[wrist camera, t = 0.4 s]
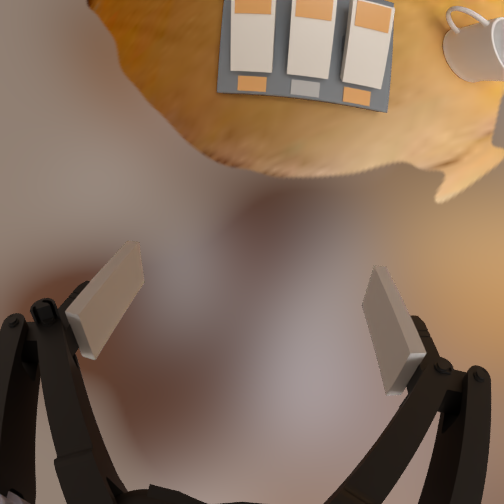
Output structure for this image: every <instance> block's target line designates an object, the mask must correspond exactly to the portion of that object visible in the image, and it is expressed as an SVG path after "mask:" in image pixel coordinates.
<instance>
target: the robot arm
mask: <svg viewBox="0 0 504 504" xmlns="http://www.w3.org/2000/svg"><path fill="white" fill-rule="evenodd" d="M144 282H145V281H144V276H143V268H142V260H141V252H140V244H139V242H134V241H127V242H126V243H125V244H124V245H123V246H122V247H121V248H120V250H119V251H118V252H117V253H116V254H115V255H114V256H113V257H112V258H111V259H110V260H109V261H108V262H107V263H106V265H105V266H104V267H103V268H102V269H101V270H100V271H99V272H98V273H97V275H96V276H95V277H94V278H93V279H92V280H91V281H85V282H84V283H82V284H80V285H79V286H78V287H77V288H76V289H75V290H74V291H73V293H71V295H70V296H69V298H67V299H66V300H65V301H64V303H63V304H62V305H61V306H60V307H59V308H58V309H57V306H56V304H55V301H54V300H52V299H50V298H44V299H41V300H38V301H36V302H35V303H34V304H33V305H32V306H31V309H30V312H31V314H32V317H33V319H34V321H35V322H26V320H25V318H24V316H23V315H22V314H19V313H18V314H17V313H16V314H12V315H10V316H8V317H7V318H6V319H5V320H4V322H3V324H2V327H1V330H0V504H35V499H36V477H35V434H36V416H37V404H38V394H39V385H40V377H41V382H42V388H43V395H44V400H45V406H46V411H47V416H48V421H49V425H50V430H51V434H52V438H53V442H54V446H55V450H56V453H57V458H56V459H55V460H54V465H55V470H56V473H57V476H58V479H59V482H60V485H61V488H62V491H63V494H64V497H65V500H66V502H67V504H207V503H204V502H201V501H199V500H197V499H194V498H192V497H190V496H188V495H186V494H183V493H181V492H179V491H175V490H171V489H166V488H163V487H158V486H155V485H151V484H150V486H149V489H140V490H133V491H129V492H128V491H127V489H126V488H125V486H124V484H123V483H122V481H121V480H120V478H119V476H118V474H117V472H116V470H115V468H114V466H113V463H112V461H111V459H110V456H109V454H108V451H107V449H106V447H105V444H104V442H103V439H102V436H101V434H100V431H99V428H98V425H97V423H96V420H95V417H94V414H93V412H92V408H91V405H90V402H89V399H88V395H87V392H86V389H85V385H84V382H83V378H82V375H81V371H80V367H79V363H78V359H77V356H76V354H75V353H76V351H77V350H78V348H79V349H80V352H81V354H82V356H83V357H86V358H90V359H93V360H96V358H97V357H98V355H99V353H100V352H101V350H102V348H103V347H104V345H105V343H106V342H107V340H108V339H109V337H110V335H111V334H112V332H113V330H114V329H115V327H116V326H117V324H118V322H119V321H120V319H121V318H122V316H123V314H124V313H125V311H126V310H127V308H128V307H129V305H130V303H131V302H132V301H133V299H134V298H135V296H136V295H137V293H138V292H139V290H140V288H141V287H142V286H143V284H144ZM362 308H363V311H364V314H365V318H366V321H367V324H368V328H369V331H370V335H371V338H372V342H373V346H374V349H375V353H376V357H377V361H378V364H379V368H380V372H381V376H382V381H383V385H384V389H385V393H386V395H401V394H402V392H403V391H404V389H405V388H406V387H407V390H408V395H407V397H406V398H405V399H404V401H403V402H402V404H401V405H400V406H399V409H398V411H397V412H396V414H395V415H394V417H393V418H392V420H391V421H390V423H389V424H388V426H387V427H386V428H385V430H384V431H383V433H382V434H381V435H380V437H379V438H378V440H377V441H376V442H375V444H374V445H373V446H372V448H371V449H370V450H369V451H368V453H367V454H366V455H365V457H364V458H363V459H362V460H361V462H360V463H359V464H358V465H357V467H356V468H355V469H354V470H353V471H352V473H351V474H350V475H349V476H348V477H347V479H346V480H345V481H344V482H343V483H342V484H341V485H340V486H339V488H338V489H337V490H336V491H335V492H334V493H333V494H332V495H331V496H330V497H329V498H328V500H327V501H326V502H325V503H324V504H382V502H383V501H384V500H385V498H386V497H387V495H388V494H389V493H390V491H391V490H392V488H393V487H394V485H395V484H396V483H397V481H398V479H399V478H400V476H401V475H402V473H403V472H404V470H405V469H406V467H407V466H408V464H409V462H410V460H411V459H412V457H413V456H414V454H415V452H416V450H417V449H418V447H419V445H420V443H421V442H422V440H423V438H424V436H425V434H426V432H427V431H428V428H429V427H430V425H431V422H432V421H433V419H434V417H435V415H436V413H437V411H438V412H441V414H440V419H439V425H438V430H437V435H436V440H435V444H434V449H433V453H432V457H431V461H430V465H429V469H428V472H427V476H426V479H425V483H424V486H423V489H422V493H421V496H420V499H419V502H418V504H481V500H482V495H483V489H484V484H485V478H486V471H487V463H488V454H489V443H490V427H491V379H490V375H489V373H488V372H487V371H486V370H485V369H484V368H482V367H480V366H476V365H475V366H472V367H471V368H470V369H469V370H468V371H467V373H466V372H462V371H458V370H454V369H453V366H452V364H451V363H450V362H449V361H448V360H446V359H444V358H442V357H440V356H439V354H438V351H437V349H436V347H435V345H434V342H433V340H432V338H431V337H430V334H429V332H428V329H427V328H426V325H425V323H424V322H423V321H422V320H421V319H420V318H419V317H418V316H410V314H409V312H408V310H407V308H406V305H405V303H404V301H403V299H402V297H401V295H400V293H399V291H398V289H397V287H396V285H395V283H394V281H393V279H392V277H391V275H390V273H389V271H388V269H387V267H384V266H374V267H373V271H372V274H371V277H370V281H369V284H368V288H367V291H366V294H365V297H364V300H363V303H362ZM223 504H259V503H249V502H234V503H223Z"/></svg>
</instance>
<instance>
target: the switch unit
mask: <svg viewBox="0 0 504 504" xmlns="http://www.w3.org/2000/svg"><path fill="white" fill-rule="evenodd" d="M366 1H370V2H374V3H378V4H382V5H386V6H389V7H393V8H394V3H392V2H388V1H384V0H366ZM349 3H350V0H337V8H336V18H335V27H334V36H333V44H332V53H331V61H330V68H329V76H328V79H323V78H316V77H308V76H300V75H291V74H287V65H288V52H289V38H290V24H291V10H292V0H277V2H276V21H275V39H274V56H273V70H272V73H268V72H251V71H231V0H224V6H223V17H222V28H221V41H220V54H219V68H218V83H217V92H218V93H227V94H250V95H266V96H278V97H288V98H298V99H306V100H314V101H321V102H328V103H334V104H341V105H346V106H352V107H357V108H363V109H368V110H373V111H377V112H385V113H387V110H388V101H389V91H390V80H391V67H392V51H393V26H392V32H391V38H390V44H389V50H388V56H387V61H386V67H385V72H384V77H383V82H382V87H381V89H377V88H372V87H368V86H363V85H358V84H353V83H347V82H342V80H341V78H340V74H341V67H342V60H343V53H344V45H345V37H346V29H347V21H348V12H349ZM393 23H394V19H393Z"/></svg>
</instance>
